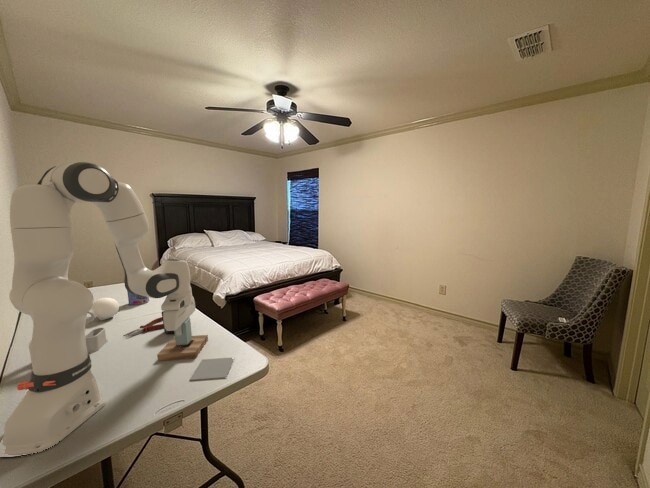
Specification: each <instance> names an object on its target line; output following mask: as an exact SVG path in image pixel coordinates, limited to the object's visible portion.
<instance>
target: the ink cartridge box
mask: <svg viewBox="0 0 650 488" xmlns="http://www.w3.org/2000/svg"><path fill="white" fill-rule="evenodd" d="M126 291H127V290H126ZM127 300H128V305H129V306H133V305H138V304H139V305H140V304H141V303H142V304H147V302H148V303H149V302H150V297H145V296H141V295H133V294H131V293H129V292H128V291H127Z"/></svg>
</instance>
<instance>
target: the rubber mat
mask: <svg viewBox="0 0 650 488" xmlns="http://www.w3.org/2000/svg"><path fill="white" fill-rule="evenodd" d="M232 363H234V361H233V359H232V357H222V358H221V357H220V358H205V359H201V361H200V363H199V364H198V366H197V367H196V369H195V370H194V372H193V373H192V375H191V377H190V378H189V381H190V382H192V381H202V380H203V381H205V380H216V379H217V380H219V379H218V378H220V379H226V378H225V377H227V378H228V376H227V375H229V373H230V371H229V370H231V369H232V366H233V364H232ZM231 365H232V366H231ZM228 372H229V373H228Z"/></svg>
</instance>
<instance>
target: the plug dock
mask: <svg viewBox="0 0 650 488" xmlns="http://www.w3.org/2000/svg"><path fill="white" fill-rule="evenodd" d="M206 342H207V343H208V342H209V335H208V334H202V335H200V334H199V335H192V339H191V341H190V342H189V343H188V344H184V345H176V342H175V336H173V338H172V339H170V340H169V342H168V343H166V345H164V347H163V348H162V349H161V350H160V351H159V352H158V353H157V354H156V356H157V361H159V362H160V361H172V360H173V361H174V360H187V359H186V358H190V359H196V358H197V357H198V356H199V355H198V354H200V353H201V352H202V350H203V349H202V348H204V347H205V346H206V344H207V343H206ZM204 345H205V346H204ZM180 346H181V347H180ZM200 351H201V352H200Z"/></svg>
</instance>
